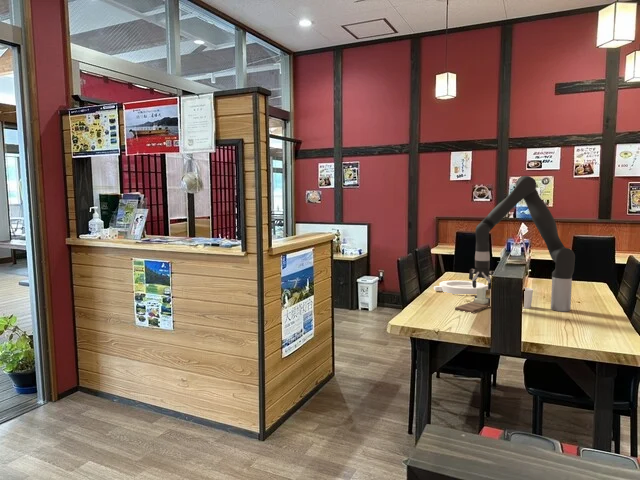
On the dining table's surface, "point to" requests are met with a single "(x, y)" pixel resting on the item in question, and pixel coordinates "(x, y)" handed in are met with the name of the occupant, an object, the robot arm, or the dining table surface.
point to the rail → (473, 306)
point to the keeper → (481, 296)
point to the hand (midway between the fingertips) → (482, 288)
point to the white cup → (528, 297)
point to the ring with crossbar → (459, 287)
